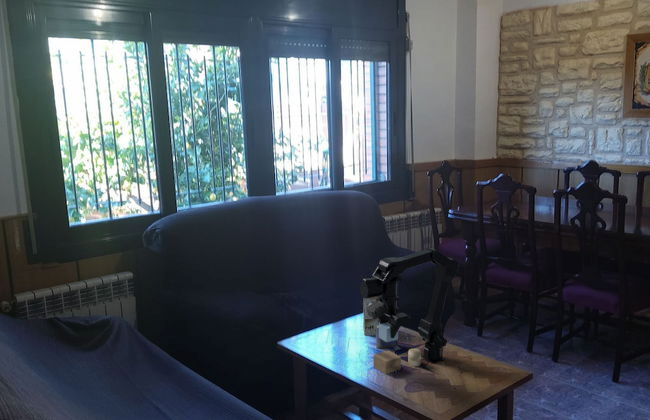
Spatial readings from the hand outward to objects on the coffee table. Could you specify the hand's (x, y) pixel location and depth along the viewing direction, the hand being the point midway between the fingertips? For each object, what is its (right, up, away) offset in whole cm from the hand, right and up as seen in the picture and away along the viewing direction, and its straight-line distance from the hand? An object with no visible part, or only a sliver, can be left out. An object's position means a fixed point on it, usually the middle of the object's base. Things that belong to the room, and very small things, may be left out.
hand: (388, 335), depth 197 cm
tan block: (0, -13, +3) cm, 13 cm away
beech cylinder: (+10, -12, +6) cm, 17 cm away
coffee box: (-3, -7, +37) cm, 38 cm away
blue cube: (0, -1, 0) cm, 1 cm away
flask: (+2, -10, +22) cm, 24 cm away
